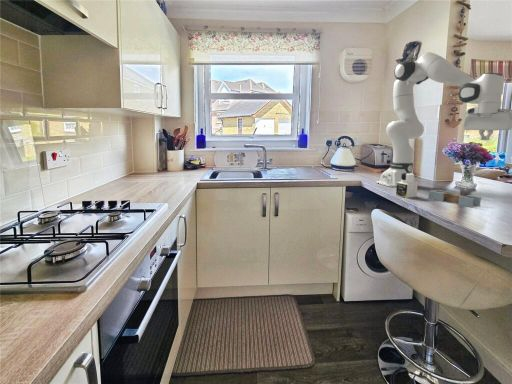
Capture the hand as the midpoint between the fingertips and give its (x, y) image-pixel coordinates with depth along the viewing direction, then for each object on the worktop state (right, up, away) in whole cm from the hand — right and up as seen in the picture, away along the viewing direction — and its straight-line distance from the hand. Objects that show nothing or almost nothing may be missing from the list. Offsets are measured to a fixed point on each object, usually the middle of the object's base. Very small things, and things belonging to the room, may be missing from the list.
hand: (484, 140), depth 155 cm
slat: (-13, -29, +5) cm, 32 cm away
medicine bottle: (-29, -27, +18) cm, 43 cm away
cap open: (-9, -30, -3) cm, 32 cm away
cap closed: (-15, -28, +10) cm, 33 cm away
